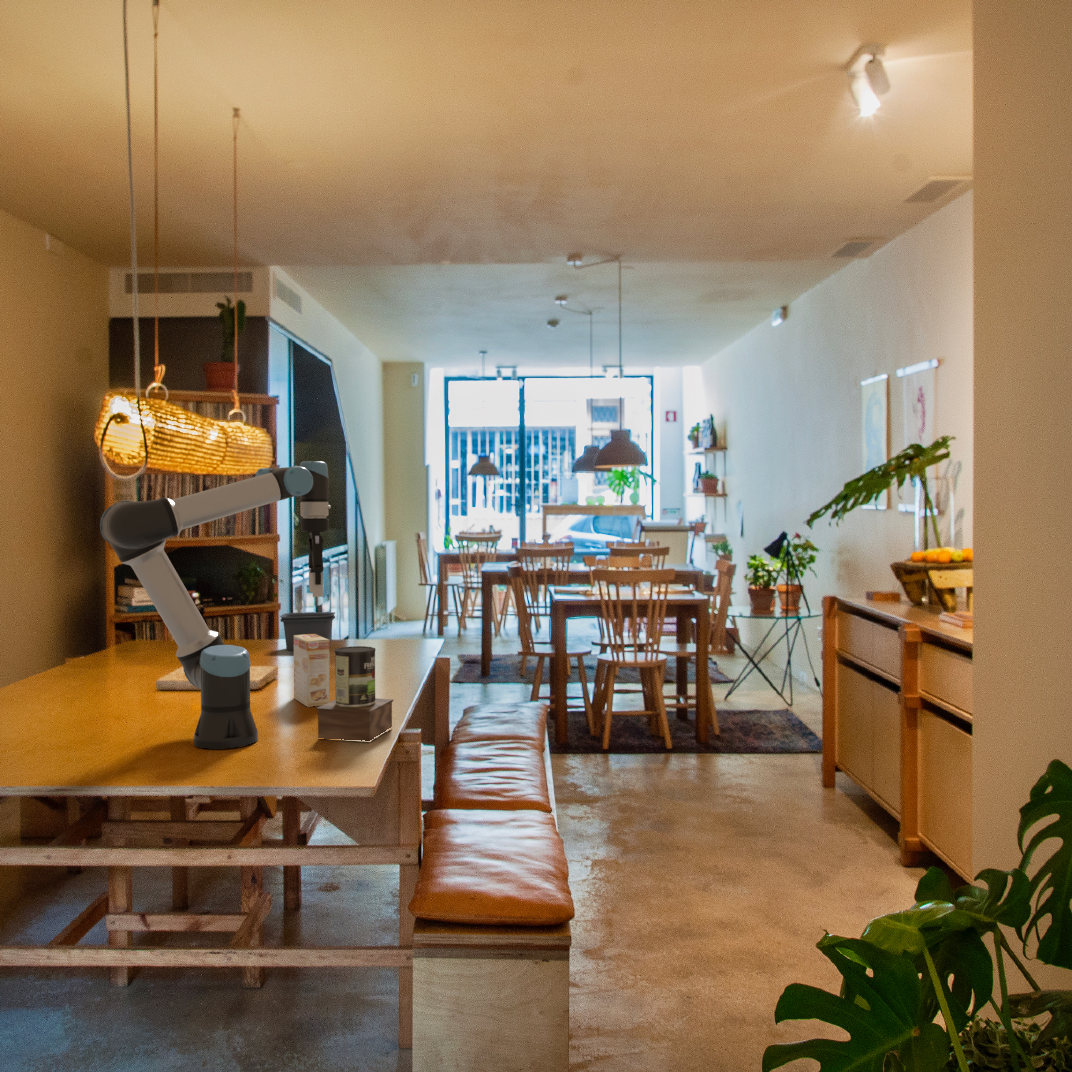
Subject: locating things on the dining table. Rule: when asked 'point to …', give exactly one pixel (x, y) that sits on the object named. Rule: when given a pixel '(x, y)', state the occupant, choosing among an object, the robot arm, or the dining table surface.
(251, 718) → the robot arm
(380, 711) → the walnut box
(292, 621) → the storage bin
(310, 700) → the coffeecake box
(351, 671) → the coffee can
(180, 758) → the dining table surface
